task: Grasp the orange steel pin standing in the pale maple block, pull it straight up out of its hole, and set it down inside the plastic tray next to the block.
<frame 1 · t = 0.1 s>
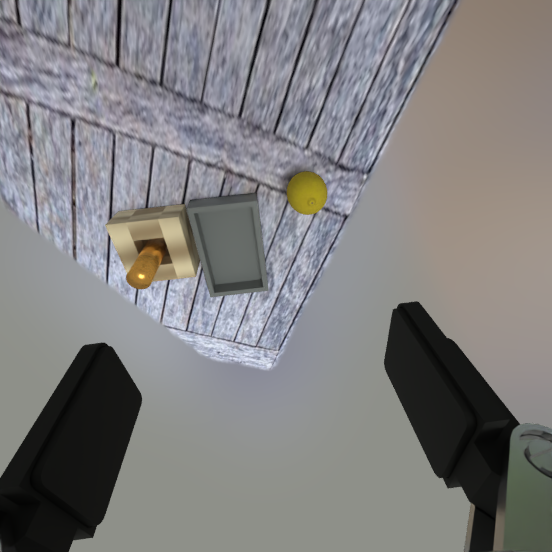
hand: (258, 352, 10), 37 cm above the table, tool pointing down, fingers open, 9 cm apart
pin block: (161, 237, 47), on the table
tray: (232, 243, 48), on the table
pin: (151, 255, 42), in the pin block
lemon: (302, 184, 44), on the table
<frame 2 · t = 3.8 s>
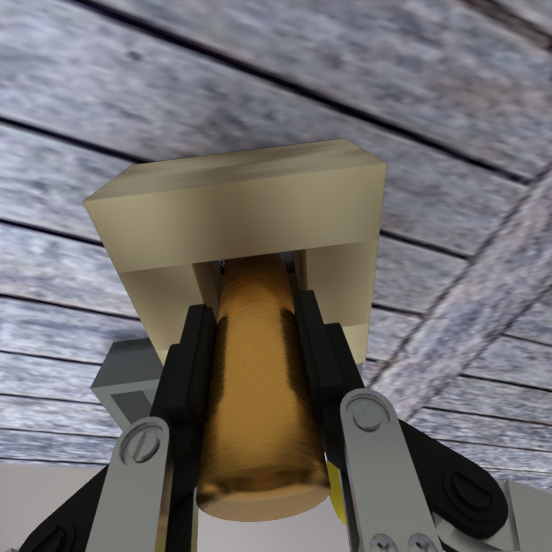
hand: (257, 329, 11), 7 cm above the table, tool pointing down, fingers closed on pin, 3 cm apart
pin block: (254, 245, 16), on the table
tray: (242, 374, 23), on the table
pin: (257, 316, 11), in the pin block, touching gripper
lemon: (344, 435, 30), on the table
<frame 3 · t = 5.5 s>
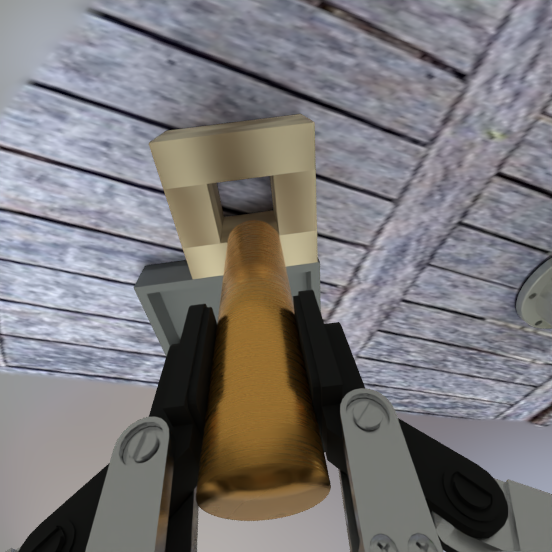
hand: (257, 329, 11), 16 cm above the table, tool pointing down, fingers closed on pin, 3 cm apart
pin block: (244, 188, 24), on the table
tray: (238, 295, 31), on the table
pin: (257, 316, 11), point 16 cm above the table, touching gripper
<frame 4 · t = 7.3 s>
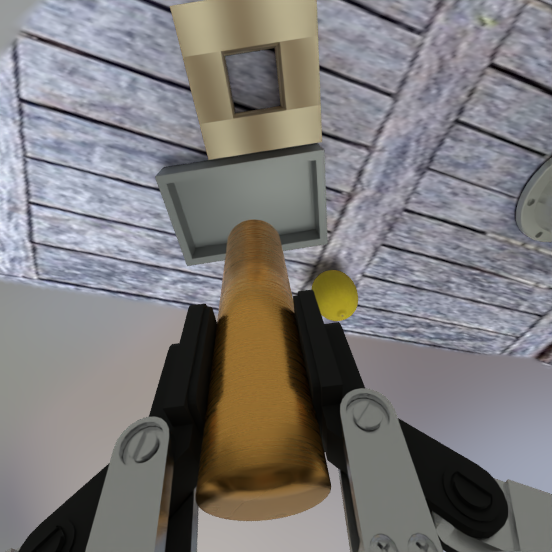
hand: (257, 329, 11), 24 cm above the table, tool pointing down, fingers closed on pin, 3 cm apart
pin block: (254, 82, 27), on the table
tray: (249, 201, 33), on the table
pin: (257, 315, 11), point 23 cm above the table, touching gripper
lemon: (326, 275, 40), on the table
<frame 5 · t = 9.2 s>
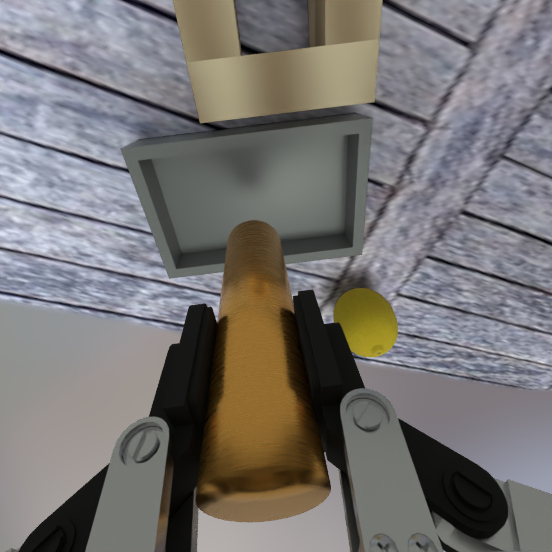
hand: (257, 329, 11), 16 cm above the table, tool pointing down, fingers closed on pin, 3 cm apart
pin block: (272, 12, 18), on the table
tray: (256, 193, 24), on the table
pin: (257, 316, 11), point 15 cm above the table, touching gripper
lemon: (351, 293, 31), on the table
when the fingers open (9 cm above the table, at t = 11.1 s): pin drops 1 cm, resting on tray.
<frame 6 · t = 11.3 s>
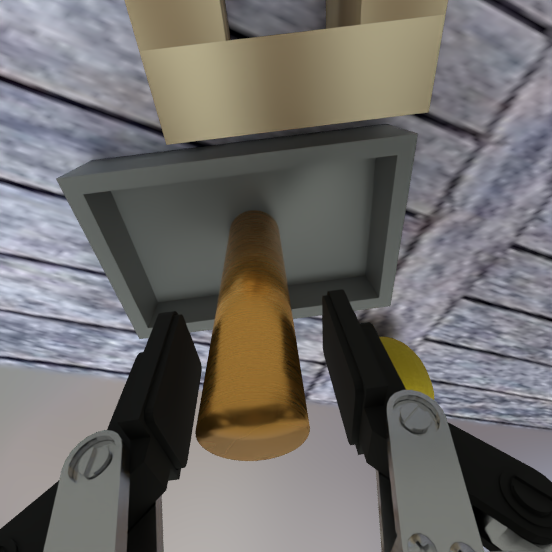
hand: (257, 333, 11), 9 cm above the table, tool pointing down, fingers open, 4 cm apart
tray: (253, 227, 18), on the table
pin: (254, 294, 13), in the tray, point 7 cm above the table
lemon: (369, 338, 25), on the table
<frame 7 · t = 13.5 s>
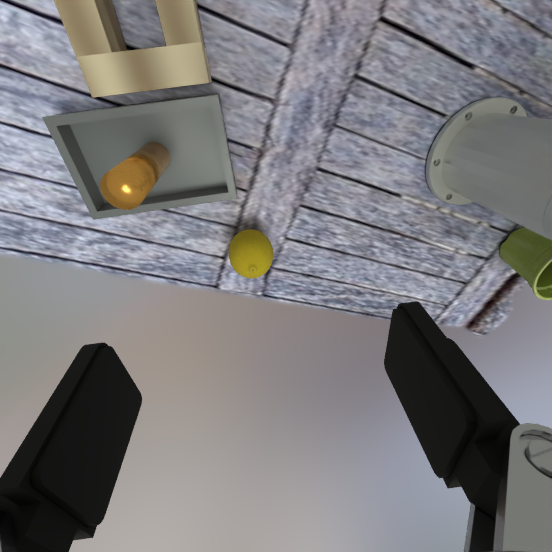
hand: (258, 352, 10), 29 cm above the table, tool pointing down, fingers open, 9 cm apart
pin block: (144, 23, 26), on the table
tray: (157, 155, 32), on the table
plant pot: (516, 242, 46), on the table
pin: (142, 170, 27), in the tray, point 7 cm above the table
lemon: (249, 238, 40), on the table
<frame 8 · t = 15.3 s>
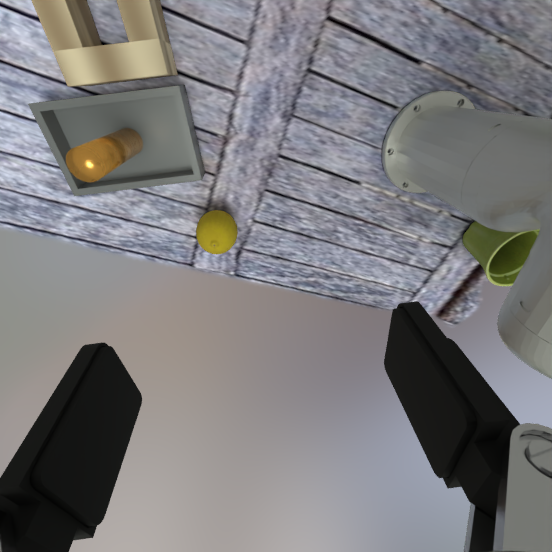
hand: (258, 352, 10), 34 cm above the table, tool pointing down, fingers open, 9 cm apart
pin block: (116, 23, 30), on the table
tray: (132, 140, 36), on the table
plant pot: (479, 232, 48), on the table
pin: (111, 151, 31), in the tray, point 7 cm above the table
lemon: (219, 219, 43), on the table
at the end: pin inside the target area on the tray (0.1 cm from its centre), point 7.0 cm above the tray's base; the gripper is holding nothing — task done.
